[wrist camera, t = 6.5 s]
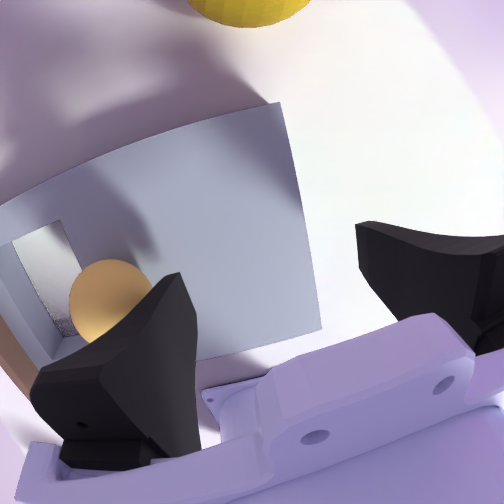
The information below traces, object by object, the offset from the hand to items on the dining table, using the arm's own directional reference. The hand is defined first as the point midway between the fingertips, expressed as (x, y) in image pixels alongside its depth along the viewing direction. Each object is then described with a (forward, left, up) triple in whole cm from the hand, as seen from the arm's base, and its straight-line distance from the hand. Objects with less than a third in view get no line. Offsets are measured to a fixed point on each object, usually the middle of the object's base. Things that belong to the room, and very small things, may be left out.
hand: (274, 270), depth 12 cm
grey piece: (0, +8, -5) cm, 9 cm away
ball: (-1, +6, +1) cm, 6 cm away
